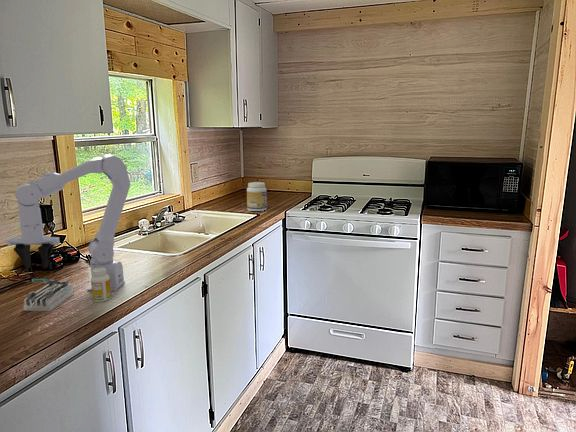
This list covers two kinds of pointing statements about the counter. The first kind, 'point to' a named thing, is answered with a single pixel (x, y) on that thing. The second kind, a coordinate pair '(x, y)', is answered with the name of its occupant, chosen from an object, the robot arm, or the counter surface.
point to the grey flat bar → (46, 281)
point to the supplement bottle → (100, 285)
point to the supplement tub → (256, 196)
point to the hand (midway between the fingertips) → (37, 267)
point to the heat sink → (48, 297)
